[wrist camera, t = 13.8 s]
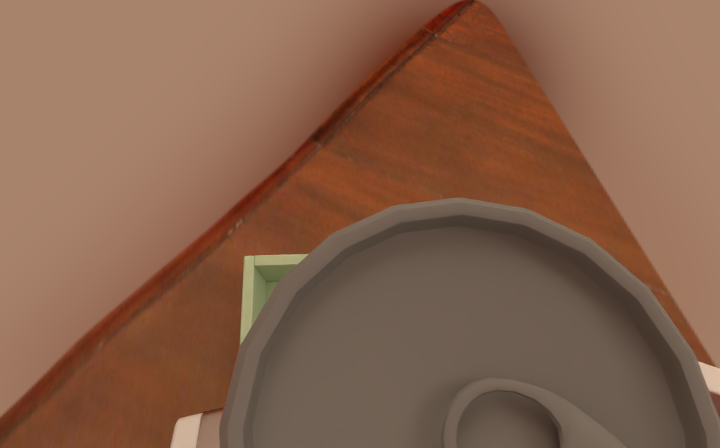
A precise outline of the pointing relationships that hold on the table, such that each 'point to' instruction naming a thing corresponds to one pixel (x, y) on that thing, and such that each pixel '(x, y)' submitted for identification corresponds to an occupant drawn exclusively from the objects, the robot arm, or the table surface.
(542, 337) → the beer can
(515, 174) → the table surface
